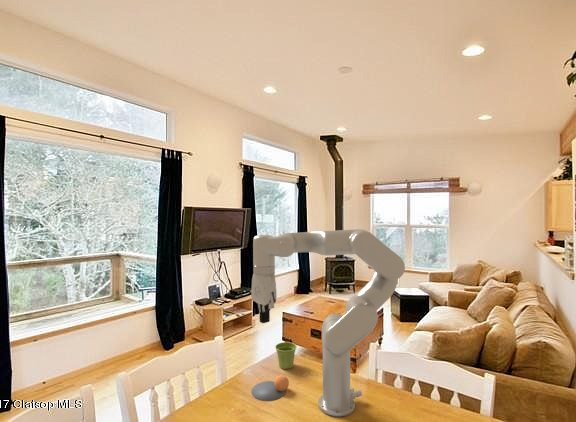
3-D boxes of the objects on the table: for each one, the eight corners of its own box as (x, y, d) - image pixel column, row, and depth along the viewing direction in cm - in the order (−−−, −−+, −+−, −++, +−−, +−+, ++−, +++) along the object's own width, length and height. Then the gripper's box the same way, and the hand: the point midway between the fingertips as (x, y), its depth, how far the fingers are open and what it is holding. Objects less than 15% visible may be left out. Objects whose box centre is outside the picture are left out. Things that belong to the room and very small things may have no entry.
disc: (277, 378, 135) (277, 378, 135) (291, 395, 123) (291, 394, 123) (246, 386, 130) (246, 385, 130) (258, 404, 118) (258, 403, 118)
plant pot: (270, 367, 145) (270, 347, 145) (283, 359, 153) (283, 340, 152) (288, 373, 139) (288, 352, 139) (300, 364, 147) (300, 345, 147)
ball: (291, 375, 129) (278, 369, 129) (290, 384, 124) (276, 378, 124) (286, 387, 130) (273, 382, 130) (285, 396, 124) (271, 391, 125)
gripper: (244, 268, 121) (244, 318, 122) (266, 275, 109) (267, 330, 110) (261, 266, 126) (262, 314, 126) (285, 272, 114) (285, 325, 114)
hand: (264, 321), depth 118 cm, fingers closed
